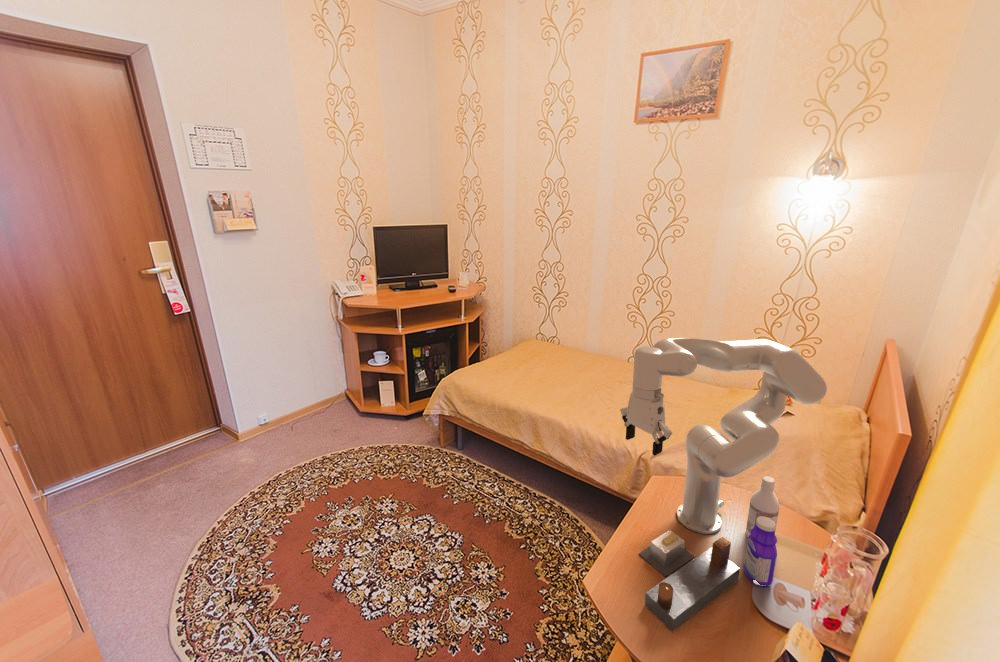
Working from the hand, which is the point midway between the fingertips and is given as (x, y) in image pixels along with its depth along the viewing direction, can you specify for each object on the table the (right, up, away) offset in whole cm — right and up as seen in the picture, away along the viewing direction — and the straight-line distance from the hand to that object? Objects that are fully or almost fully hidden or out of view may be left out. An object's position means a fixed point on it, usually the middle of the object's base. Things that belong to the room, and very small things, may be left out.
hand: (643, 445), depth 118 cm
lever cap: (+5, -30, -3) cm, 30 cm away
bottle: (+26, -32, -11) cm, 42 cm away
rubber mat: (+5, -30, -3) cm, 31 cm away
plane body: (+8, -33, -14) cm, 37 cm away
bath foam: (+35, -28, +2) cm, 44 cm away
